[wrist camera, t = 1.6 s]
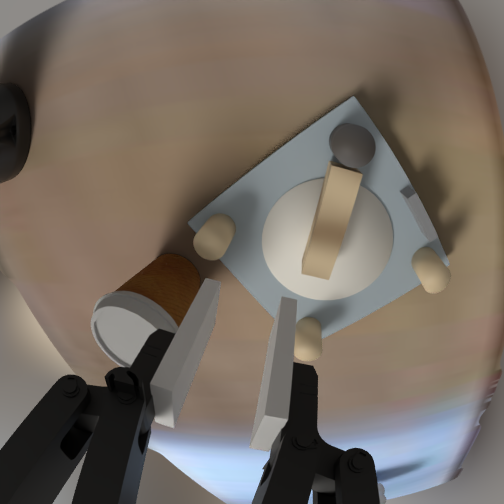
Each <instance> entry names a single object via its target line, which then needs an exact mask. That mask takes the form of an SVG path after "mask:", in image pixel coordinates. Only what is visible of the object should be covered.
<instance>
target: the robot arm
mask: <svg viewBox="0 0 504 504" xmlns="http://www.w3.org/2000/svg"><path fill="white" fill-rule="evenodd" d="M30 135H31V123H30V113H29V108H28V104H27V101H26V98H25V96H24V94H23V92H22V91H21V89H20V88H19V87H18V86H16V85H15V84H12V83H6V84H0V183H3V182H5V181H8V180H10V179H12V178H14V177H16V176H17V175H18V174H19V172H20V171H21V169H22V168H23V166H24V163H25V161H26V158H27V155H28V150H29V145H30ZM220 286H221V282H220V281H216V280H212V279H208V278H205V280H204V282H203V284H202V286H201V288H200V289H199V291H198V293H197V295H196V297H195V299H194V301H193V302H192V304H191V306H190V308H189V310H188V312H187V314H186V315H185V317H184V319H183V321H182V323H181V325H180V327H179V329H178V330H177V332H176V333H172V332H169V331H166V330H163V329H157V330H156V331H155V332H153V333H152V334H150V335H149V337H148V338H147V340H146V342H145V343H144V345H143V347H142V348H141V350H140V353H138V355H137V357H136V358H135V360H134V362H133V363H132V365H131V367H130V368H129V367H118V368H114V369H112V370H111V371H109V372H108V373H107V374H106V376H105V380H106V384H107V387H101V386H93V385H87V384H86V382H85V381H84V380H83V379H82V378H81V377H79V376H77V375H66V376H63V377H61V378H60V379H59V380H58V381H57V382H56V383H55V384H54V385H53V386H52V388H51V389H50V390H49V391H48V392H47V393H46V394H45V396H44V397H43V398H42V399H41V401H40V402H39V403H38V404H37V405H36V406H35V407H34V409H33V410H32V411H31V412H30V414H29V415H28V416H27V417H26V419H25V420H24V421H23V422H22V423H21V425H20V426H19V427H18V428H17V430H16V431H15V432H14V433H13V435H12V436H11V437H10V438H9V440H8V441H7V442H6V443H5V445H4V446H3V447H2V449H1V450H0V504H52V503H53V502H54V500H55V499H56V497H57V495H58V494H59V492H60V491H61V489H62V488H63V486H64V485H65V483H66V482H67V480H68V479H69V477H70V475H71V474H72V472H73V471H74V469H75V468H76V466H77V465H78V463H79V462H80V460H81V459H82V457H83V456H84V454H85V453H86V451H87V453H86V457H85V460H84V463H83V466H82V470H81V473H80V476H79V479H78V483H77V486H76V490H75V493H74V497H73V501H72V504H136V499H137V494H138V489H139V484H140V480H141V475H142V470H143V465H144V461H145V456H146V452H147V447H148V443H149V439H150V434H151V424H152V421H153V419H154V417H155V422H157V423H160V424H163V425H166V426H169V427H172V428H174V427H175V424H176V422H177V419H178V417H179V414H180V412H181V409H182V406H183V404H184V401H185V399H186V396H187V394H188V391H189V389H190V386H191V383H192V381H193V378H194V376H195V373H196V371H197V368H198V366H199V363H200V361H201V358H202V355H203V353H204V350H205V348H206V345H207V343H208V340H209V338H210V335H211V333H212V330H213V328H214V325H215V320H216V313H217V306H218V299H219V292H220ZM296 314H297V300H296V299H292V298H287V297H283V296H282V297H281V300H280V304H279V307H278V310H277V314H276V317H275V321H274V324H273V327H272V330H271V334H270V337H269V343H268V349H267V355H266V360H265V366H264V372H263V378H262V383H261V389H260V394H259V400H258V405H257V410H256V416H255V421H254V426H253V431H252V436H251V442H250V447H249V448H252V449H257V450H263V451H268V452H269V450H270V449H271V453H270V458H269V460H268V461H267V463H266V464H265V466H264V467H263V469H264V472H263V475H262V477H261V480H260V483H259V486H258V488H257V491H256V493H255V496H254V499H253V501H252V504H308V500H309V496H310V493H311V489H312V490H313V504H380V498H379V491H378V484H377V477H376V470H375V464H374V460H373V458H372V456H371V455H370V454H369V453H368V452H367V451H365V450H363V449H360V448H352V449H349V450H347V451H343V450H341V449H338V448H336V447H333V446H331V445H329V444H327V443H326V442H325V441H324V440H323V439H322V438H321V437H320V435H319V433H318V429H317V410H318V397H317V395H318V388H317V387H318V375H317V373H316V371H315V369H314V367H313V366H311V365H306V364H301V363H295V362H293V359H294V346H295V331H296Z"/></svg>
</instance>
